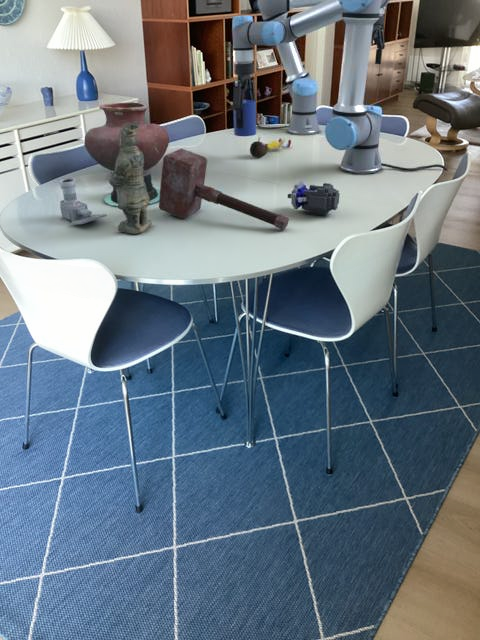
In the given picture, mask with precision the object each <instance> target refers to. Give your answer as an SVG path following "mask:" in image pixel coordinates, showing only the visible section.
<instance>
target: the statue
mask: <svg viewBox="0 0 480 640" xmlns="http://www.w3.org/2000/svg"><path fill="white" fill-rule="evenodd" d="M138 127H139V123H138V122H137V121H133V122H131V123H128V124H127V125H126V126H125V127H124V128H123V129H121V130H120V133H119V138H118V140H119V147H120V151H119V154H118V156H117V160H116V164H115V170H114V171H113V172H114V175H113V176H112V175H111V176H110V177H109V180H108V183H109V184H110V186H111V187H112V188H113V187H114V188H115V189H116V192H117V202H118V206H117V209H119V210H122V213H123V214H124V215H125V218H126V219H125V220H122V221H120V222H119V224H118V225H117V231H118V232H121V233H126V234H134V235H136V234H142V233H143V232H145V231H146V230H147V229H148V228H150V227H151V226H152V225H153V223H152V220H150V219H148V216H147V214H148V213H147V212H148V211H147V209H148V206H149V205H150V197H149V195H148V192H147V188H146V184H145V182H144V178H143V166H144V156H143V153H142V151H141V150H139V149H138V147H137V146H136V143H137V138H136V131H137V130H138Z"/></svg>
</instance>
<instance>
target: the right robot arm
mask: <svg viewBox="0 0 480 640" xmlns="http://www.w3.org/2000/svg"><path fill="white" fill-rule="evenodd" d="M390 2H391V0H326V1H324V2H322V3H320V4H318V5H315V6H311V7H308V8H307V9H305V10H302V11H300V12H297V13H295V14H293V15H292V16H289V17H286V18H287V19H284V20H280V21H268V22H264V21H254V18H253V16H252V15H235V16H233V18H232V28H231V33H232V46H233V49H232V56H233V62H234V64H233V74H234V75H236V76H237V78H236V80H233V83H232V84H233V94H232V95H233V98H232V110H236V128H244V125H243V110H242V105H243V100H254V101H256V102H257V100H256V90H255V76H251V75H253V74H254V73H255V71H254V70H255V69H254V67H255V66H254V61H255V59H254V56H255V55H254V46H268V47H273V46H276V45H278V44H280V43H289V42H292V41H294V42H296V41H297V39H299V38H300V37H303V36H305V35H308V34H310V33H312V32H315V31H318V30H320V29H323V28H325V27H327V26H330V25H332V24H335V23H337V22H340V21H342V20H343V22H344V23H345V31H344V38H343V49H342V58H341V68H340V78H339V88H338V98H337V103H336V104H335V105H334V106H332V111H331V112H332V113H331V118H330V119H329V120H328V122H327V123H326V124H325V128H324V135H325V140H326V141H327V143H328V145H330V146H331V147H332V148H333V149H335V150H337V151H344V154H343V156H342V158H341V162H340V170H341V171H343V172H345V173H349V174H355V175H356V174H357V175H369V174H370V175H371V174H376V173H378V172H380V171H382V167H385V168H390V169H395V170H400V171H406V172H416V171H418V170H426V169H432V168H441V169H443V170H444V171H449V169H448V168H447V167H446V166H445V165H443V164H439V163H438V164H429V165H420V166H417V167H402V166H397V165H393V164H388V163H383V162H382V161H381V155H380V150H379V147H380V145H379V144H380V138H381V137H380V136H381V129H382V128H381V127H382V119H383V108H382V107H381V106H378V105H372V104H371V105H370V104H364V101H365V99H364V98H365V92H366V83H367V75H368V69H369V62H370V61H369V60H370V52H371V45H372V43H371V38H372V30H373V24H374V23H375V22H376V21H377V20H378V19H379V13H380V9H381V8H383V7H387V6H388V4H389V3H390ZM244 98H245V99H244Z"/></svg>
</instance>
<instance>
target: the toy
mask: <svg viewBox="0 0 480 640" xmlns="http://www.w3.org/2000/svg"><path fill="white" fill-rule="evenodd" d="M293 187H294V188H293V189H292V191H291V193H288V194H287V199H291V200H290V201H291V202H290V203H291V206H292V207H293V210H298V209H299V208H301V210H303V211H306V212H307V214H310V215H311V214H312V215H318V216H326V215H328V213H330V212H331V211H336V210H337V209H338V205H339V204H340V194H341V193H340V190H338V189H337V188H335V187H334V184H332V183H328V182H324V183H322V185H315V184H310V185H309V186H308V187H309V188H308V187H307V185H306V184H305V183H304V181H301V180H299V181H298V182H296V183H295V184H294V186H293Z"/></svg>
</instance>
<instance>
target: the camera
mask: <svg viewBox="0 0 480 640" xmlns="http://www.w3.org/2000/svg"><path fill="white" fill-rule="evenodd" d="M59 185H60V189H61V190H62V195H63V200H60V201H59V203H60V204H59V206H60V207H59V208H60V212H61V217H62V218H64V219H66V220H67V221H68V220H69V221H70V225H84V224H87V223H89V222H93V221H96V220H99V219H102V218H105V217H107V216H108V215H107V214H106V213H102V214H101V213H100V214H93V212H92V211H91V210H89V209H88V205H87V203H85V202H83V201H80V200H78V198H77V191H76V188H77V186H76V179H75V178H73V177H64V178H61V179H60V180H59Z"/></svg>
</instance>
